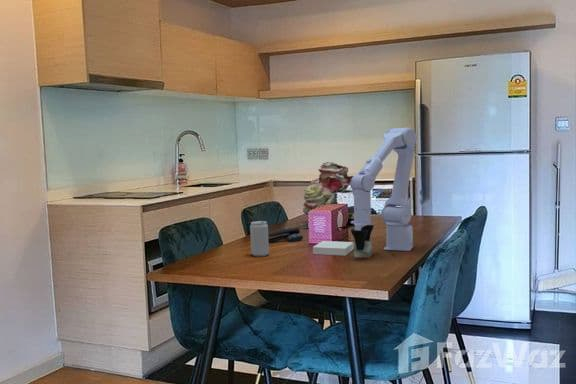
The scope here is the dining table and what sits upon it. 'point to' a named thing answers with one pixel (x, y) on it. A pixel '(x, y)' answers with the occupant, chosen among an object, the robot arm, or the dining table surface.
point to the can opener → (291, 235)
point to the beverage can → (259, 238)
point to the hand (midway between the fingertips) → (362, 247)
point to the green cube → (364, 250)
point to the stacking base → (333, 248)
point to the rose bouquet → (327, 188)
